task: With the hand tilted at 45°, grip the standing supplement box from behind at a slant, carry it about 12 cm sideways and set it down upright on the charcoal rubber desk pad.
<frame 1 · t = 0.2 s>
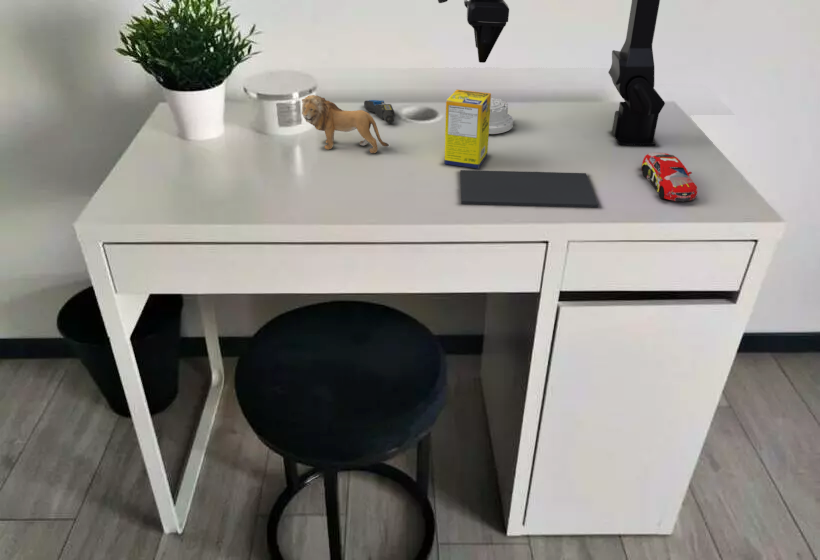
hand: (480, 54, 119), 14 cm above the table, tool pointing down, fingers open, 9 cm apart
mechanical component: (485, 126, 131), on the table
lion figurine: (343, 149, 122), on the table
supplement box: (465, 161, 118), on the table
desk pad: (525, 189, 109), on the table
race car: (666, 187, 110), on the table
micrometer: (379, 116, 136), on the table
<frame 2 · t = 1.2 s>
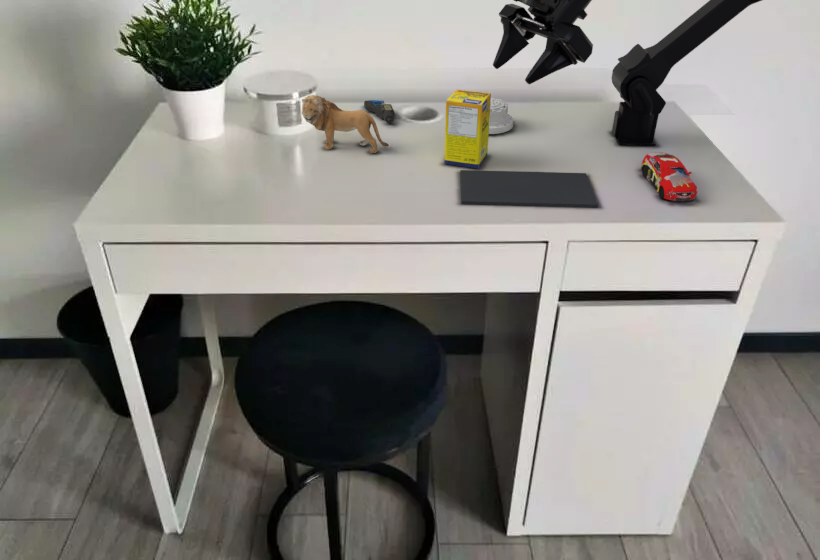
hand: (510, 74, 114), 13 cm above the table, tool tilted 45°, fingers open, 9 cm apart
nothing on the table moved.
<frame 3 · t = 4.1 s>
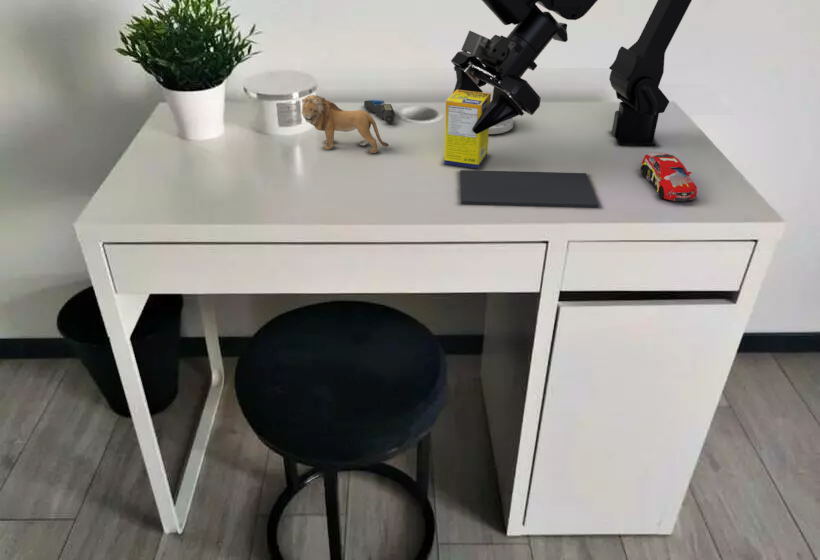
hand: (460, 123, 114), 7 cm above the table, tool tilted 45°, fingers closed on supplement box, 8 cm apart
supplement box: (465, 161, 118), on the table, touching gripper
everything else where it was.
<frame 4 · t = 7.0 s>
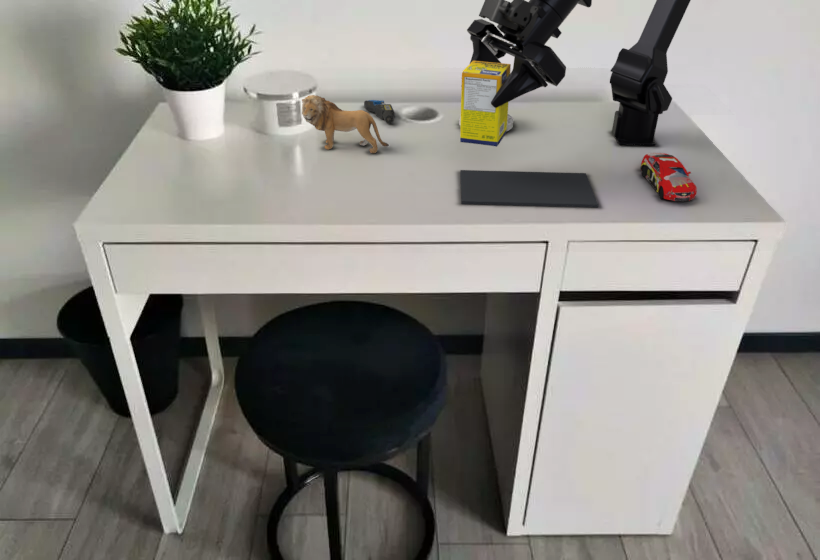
hand: (477, 97, 105), 13 cm above the table, tool tilted 45°, fingers closed on supplement box, 8 cm apart
supplement box: (483, 139, 109), point 6 cm above the table, touching gripper
everything else where it was.
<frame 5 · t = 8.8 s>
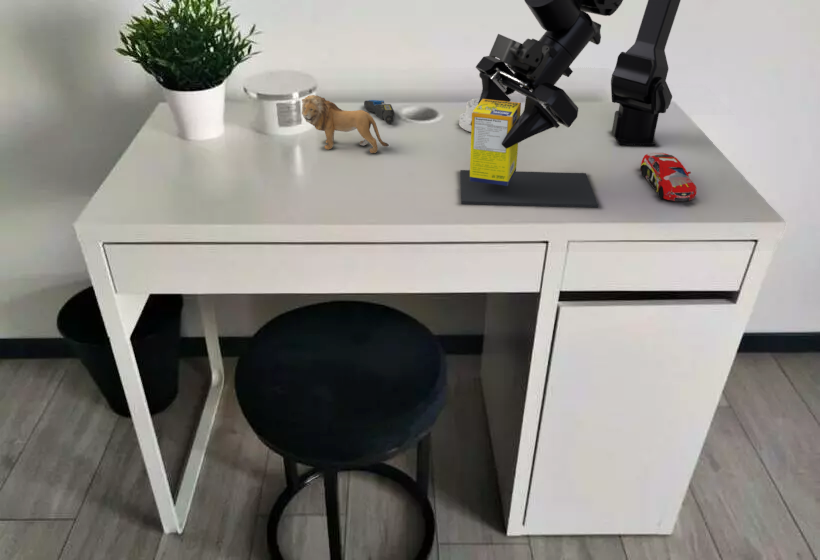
hand: (487, 136, 103), 9 cm above the table, tool tilted 45°, fingers closed on supplement box, 8 cm apart
supplement box: (492, 177, 107), point 2 cm above the table, touching gripper
everything else where it was.
when the fingers open (7 cm above the table, at t = 10.1 s): supplement box stays where it is, resting on desk pad.
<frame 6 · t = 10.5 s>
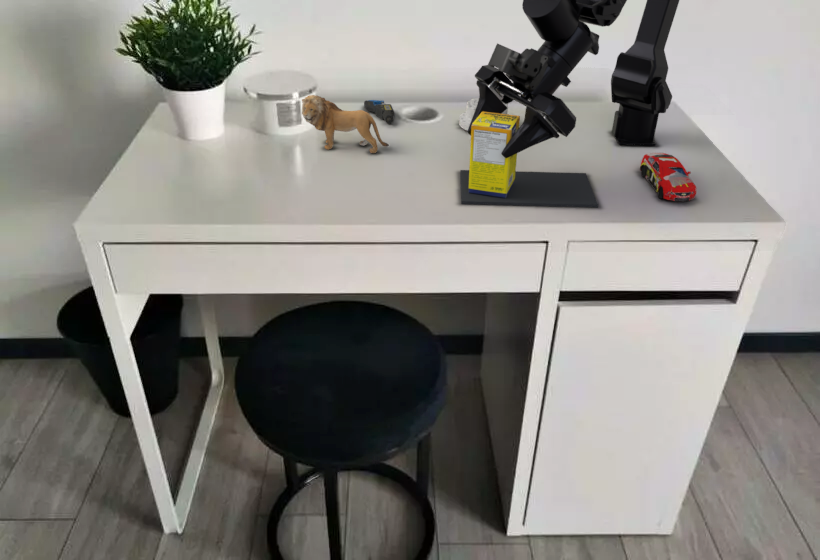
hand: (485, 144, 104), 8 cm above the table, tool tilted 45°, fingers open, 9 cm apart
supplement box: (491, 189, 108), resting on desk pad
everything else where it was.
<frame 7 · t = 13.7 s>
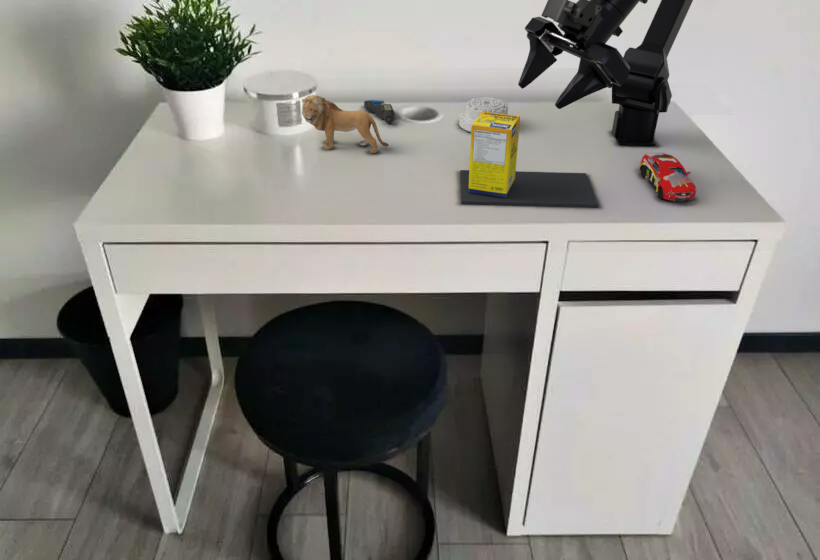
hand: (538, 96, 105), 13 cm above the table, tool tilted 45°, fingers open, 9 cm apart
nothing on the table moved.
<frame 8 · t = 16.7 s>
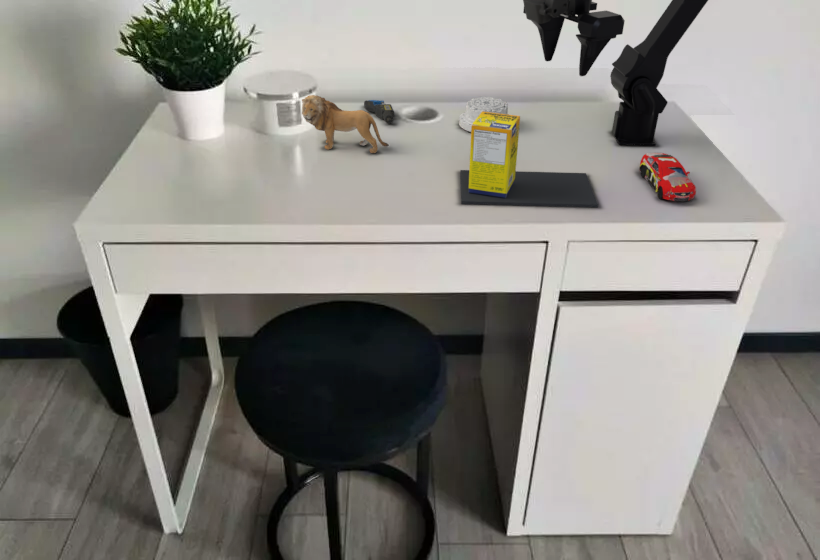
hand: (564, 68, 118), 13 cm above the table, tool pointing down, fingers open, 9 cm apart
nothing on the table moved.
at the end: supplement box inside the target area (0.1 cm from its centre), resting on desk pad; supplement box tilted 0°; the gripper is holding nothing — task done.
